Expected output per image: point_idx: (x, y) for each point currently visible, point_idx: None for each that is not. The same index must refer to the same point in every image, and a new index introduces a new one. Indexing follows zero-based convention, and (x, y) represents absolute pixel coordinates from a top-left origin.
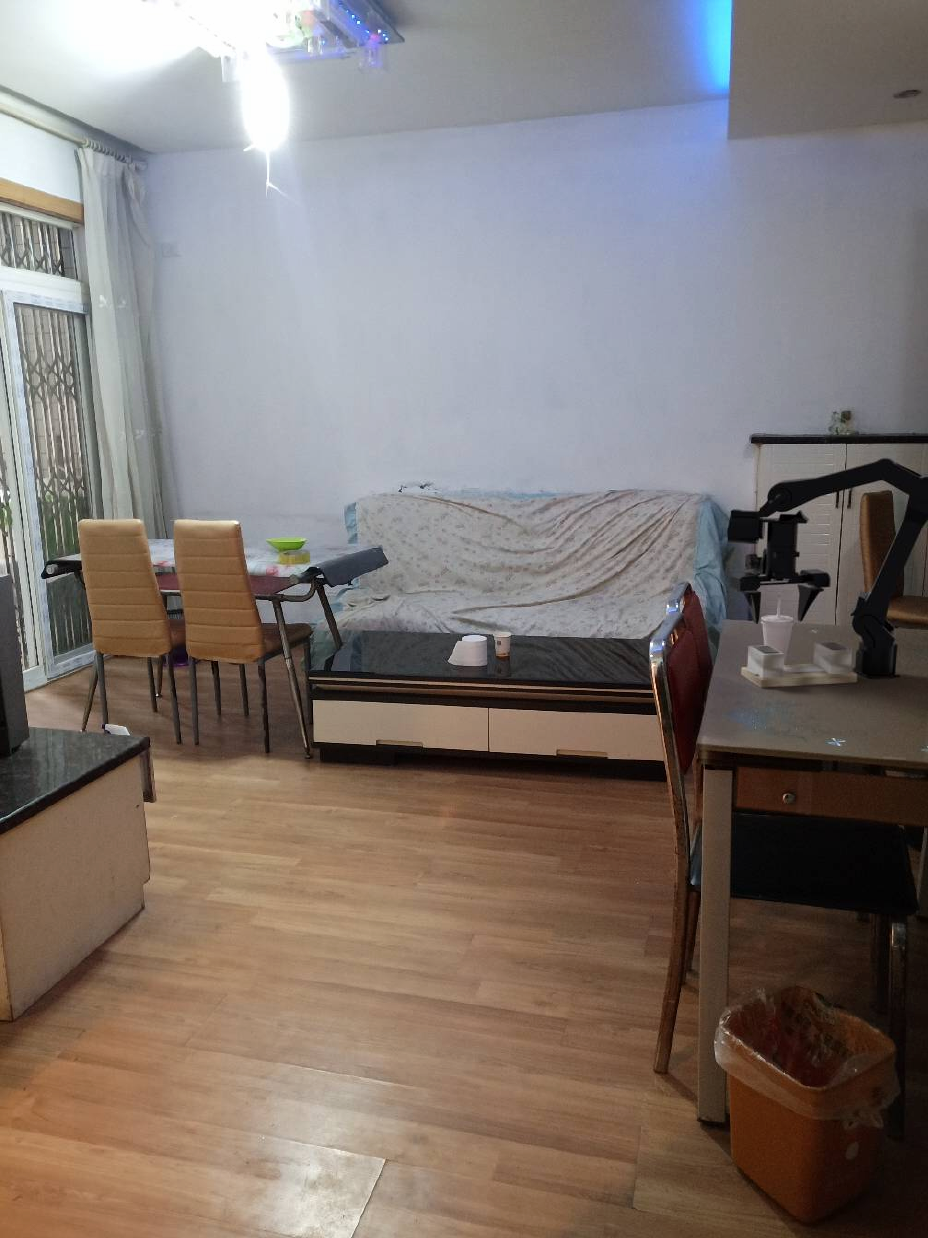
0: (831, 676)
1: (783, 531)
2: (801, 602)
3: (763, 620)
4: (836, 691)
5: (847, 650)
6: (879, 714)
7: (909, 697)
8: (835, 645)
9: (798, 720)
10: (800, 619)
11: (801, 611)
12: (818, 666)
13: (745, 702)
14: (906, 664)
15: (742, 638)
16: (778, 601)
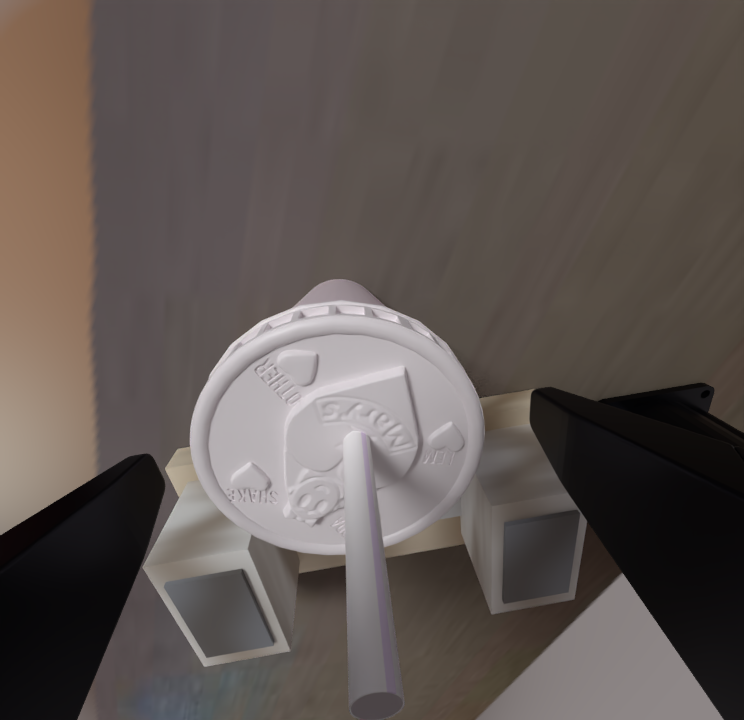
0: (455, 543)
1: None
2: (684, 548)
3: (206, 484)
4: (432, 575)
5: (555, 602)
6: (449, 678)
7: (575, 599)
8: (549, 561)
9: (278, 713)
10: (538, 440)
11: (586, 495)
12: None
13: (176, 650)
14: None
15: None
16: (350, 620)
